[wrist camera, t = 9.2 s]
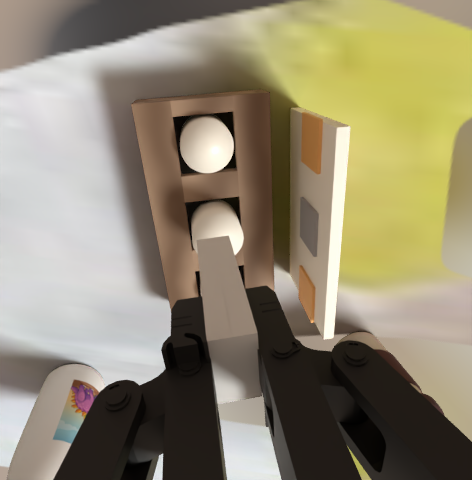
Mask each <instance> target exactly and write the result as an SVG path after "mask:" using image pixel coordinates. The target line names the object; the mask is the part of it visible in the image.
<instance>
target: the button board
mask: <svg viewBox="0 0 472 480" xmlns="http://www.w3.org/2000/svg"><path fill="white" fill-rule="evenodd" d="M131 107H132V112H133V117H134V122H135V127H136V133H137V138H138V143H139V148H140V153H141V158H142V164H143V169H144V174H145V179H146V184H147V189H148V194H149V200H150V205H151V210H152V215H153V220H154V225H155V231H156V236H157V241H158V246H159V251H160V256H161V262H162V267H163V272H164V277H165V282H166V287H167V292H168V298H169V303H170V308H171V312H172V308H173V306H174V304H175V303H176V301H177V300H180V299H187V298H194V297H200V296H201V293H198V287H197V280H196V273H195V271H199V261H198V254H197V252H196V251H195V249H194V247H193V246H192V245H191V238H190V231H189V225H188V218H187V211H186V204H185V202H194V201H203V200H212V199H221V198H229V197H238V201H239V215H240V226H241V228H242V231H243V236H244V240H243V244H242V247H241V249H240V250H239V252H238V253H237V254H236V255H235V258H236V261H237V265H238V266H241V265H243V273H244V288H245V289H246V288H253V287H259V286H266V285H267V286H268V287H269V288H270V289H272V290H273V291H274V263H273V217H272V171H271V125H270V92H267V91H264V90H261V89H258V90H246V91H234V92H223V93H211V94H199V95H188V96H176V97H164V98H153V99H141V100H136V101H134V102H133V103H132V104H131ZM221 112H232V114H233V128H234V143H235V157H236V168H231V169H222V170H219V171H217V172H214V173H201V172H194V173H184V174H181V169H180V162H179V155H178V148H177V141H176V134H175V127H174V121H173V117H177V116H188V115H199V114H210V113H221Z"/></svg>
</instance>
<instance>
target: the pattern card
mask: <svg viewBox="0 0 472 480" xmlns="http://www.w3.org/2000/svg"><path fill="white" fill-rule="evenodd" d="M349 138H350V126H348V125H345V124H343V123H340V122H338V121H335V120H332V119H330V118H327V117H324V116H322V115H319V114H316V113H314V112H311V111H309V110H306V109H303V108H301V107H297V108H290V275H291V277H292V279H293V281H294V283H295V285H296V287H297V289H298V291H299V300H300V302H301V304H302V306H303V308H304V310H305V312H306V314H307V316H308V318H309V320H310V322H311V323H314V322H315V324H316V326H317V328H318V330H319V332H320V334H321V336H322V338H323V340H326V339H332V338H334V326H335V313H336V301H337V288H338V276H339V263H340V250H341V238H342V225H343V213H344V200H345V188H346V175H347V163H348V150H349Z"/></svg>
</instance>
